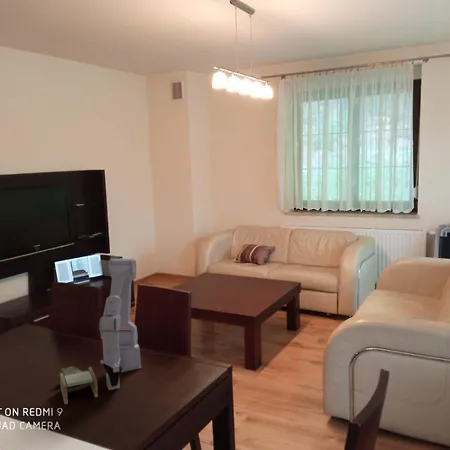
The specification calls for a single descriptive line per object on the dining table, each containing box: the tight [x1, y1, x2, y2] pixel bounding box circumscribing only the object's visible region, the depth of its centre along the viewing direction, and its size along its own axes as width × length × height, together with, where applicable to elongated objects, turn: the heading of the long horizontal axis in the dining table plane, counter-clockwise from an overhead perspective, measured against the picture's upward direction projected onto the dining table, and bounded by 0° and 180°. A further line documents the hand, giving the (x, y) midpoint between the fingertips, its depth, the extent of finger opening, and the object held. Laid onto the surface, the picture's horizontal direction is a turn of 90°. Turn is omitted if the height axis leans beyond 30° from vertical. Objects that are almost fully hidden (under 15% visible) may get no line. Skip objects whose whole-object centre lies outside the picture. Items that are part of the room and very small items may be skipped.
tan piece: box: [59, 366, 99, 405], centre depth 164 cm, size 11×11×6 cm
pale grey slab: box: [64, 370, 93, 388], centre depth 165 cm, size 8×10×3 cm
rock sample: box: [56, 366, 83, 380], centre depth 174 cm, size 10×8×9 cm
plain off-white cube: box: [105, 372, 121, 391], centre depth 169 cm, size 4×4×5 cm
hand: (113, 383), depth 169 cm, fingers closed on plain off-white cube, 4 cm apart
